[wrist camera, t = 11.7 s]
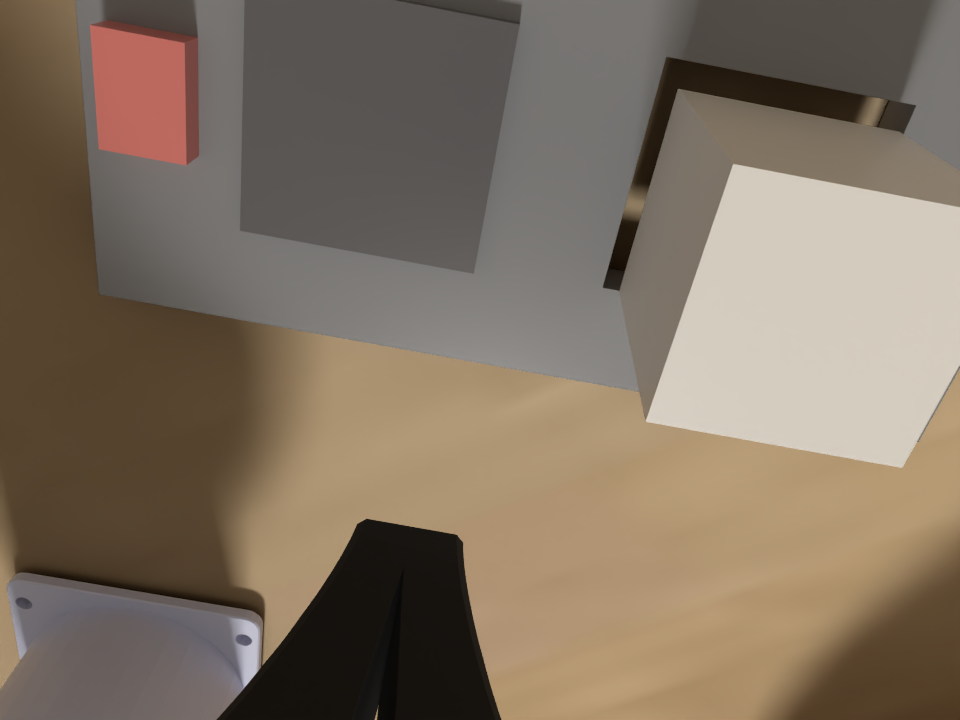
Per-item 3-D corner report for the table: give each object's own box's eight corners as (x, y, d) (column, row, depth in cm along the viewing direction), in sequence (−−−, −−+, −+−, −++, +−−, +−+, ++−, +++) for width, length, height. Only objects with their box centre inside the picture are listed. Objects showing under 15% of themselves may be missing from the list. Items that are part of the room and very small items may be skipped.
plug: (793, 297, 19) (901, 468, 13) (612, 263, 19) (645, 421, 13) (869, 112, 17) (1039, 222, 11) (666, 72, 17) (733, 163, 11)
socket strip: (899, 414, 21) (930, 459, 19) (121, 273, 20) (84, 307, 18) (1122, -5, 16) (1191, 7, 14) (91, -213, 15) (35, -226, 13)
